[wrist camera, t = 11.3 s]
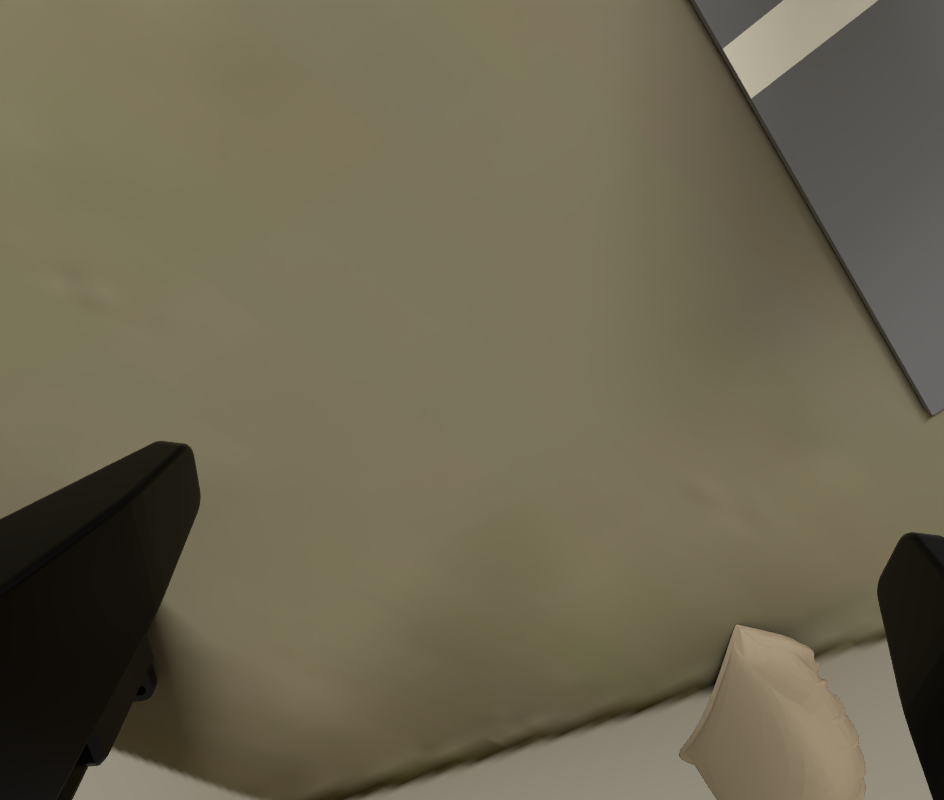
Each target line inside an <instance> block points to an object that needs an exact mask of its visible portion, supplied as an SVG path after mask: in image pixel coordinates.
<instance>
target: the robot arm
mask: <svg viewBox="0 0 944 800" xmlns="http://www.w3.org/2000/svg"><path fill="white" fill-rule="evenodd" d="M199 506H200V487H199V482H198V476H197V470H196V464H195V459H194V454H193V451H192V449H191V447H190V446H188V445H187V444H183V443H175V442H167V441H157V442H154V443H152V444H150V445H148V446H146V447H144V448H142V449H140V450H138V451H136V452H134V453H132V454H130V455H128V456H126V457H124V458H122V459H120V460H118V461H116V462H114V463H112V464H110V465H108V466H106V467H104V468H102V469H100V470H98V471H96V472H94V473H92V474H90V475H88V476H86V477H84V478H82V479H80V480H78V481H76V482H74V483H72V484H70V485H68V486H66V487H64V488H62V489H60V490H58V491H56V492H54V493H52V494H50V495H48V496H46V497H44V498H42V499H40V500H38V501H36V502H34V503H32V504H30V505H28V506H26V507H24V508H22V509H20V510H18V511H16V512H14V513H12V514H10V515H8V516H6V517H4V518H2V519H0V800H72V799H73V797H74V795H75V793H76V791H77V789H78V787H79V784H80V782H81V780H82V778H83V776H84V774H85V772H86V770H87V768H88V766H98V765H100V764H101V763H102V762H103V761H104V760H105V759H106V757H107V756H108V754H109V752H110V750H111V748H112V746H113V743H114V741H115V739H116V737H117V735H118V733H119V731H120V728H121V726H122V724H123V722H124V720H125V718H126V716H127V713H128V711H129V709H130V707H131V705H132V703H133V701H143V700H147V699H148V698H150V697H151V696H152V694H153V692H154V690H155V688H156V685H157V678H156V675H155V672H154V669H153V666H152V663H151V662H152V660H153V654H152V651H151V648H150V645H149V642H148V639H147V636H146V633H147V631H148V629H149V627H150V625H151V623H152V621H153V619H154V617H155V615H156V613H157V611H158V609H159V607H160V604H161V602H162V600H163V597H164V595H165V593H166V590H167V588H168V585H169V583H170V580H171V578H172V575H173V573H174V570H175V568H176V565H177V563H178V560H179V558H180V555H181V553H182V550H183V548H184V545H185V543H186V540H187V538H188V535H189V533H190V530H191V528H192V525H193V523H194V520H195V518H196V515H197V513H198V510H199ZM877 596H878V602H879V606H880V611H881V615H882V620H883V624H884V629H885V633H886V638H887V642H888V647H889V651H890V656H891V660H892V664H893V669H894V674H895V678H896V683H897V687H898V692H899V696H900V700H901V704H902V707H903V711H904V715H905V718H906V721H907V724H908V727H909V731H910V734H911V736H912V739H913V742H914V745H915V748H916V751H917V754H918V757H919V760H920V763H921V766H922V768H923V771H924V774H925V777H926V780H927V783H928V786H929V789H930V792H931V795H932V797H933V800H944V537H942V536H938V535H931V534H923V533H915V532H911V533H907V534H905V535H903V536H902V537H901V538H900V540H899V541H898V543H897V545H896V547H895V549H894V551H893V553H892V555H891V557H890V559H889V561H888V563H887V564H886V566H885V568H884V570H883V572H882V574H881V576H880V579H879V582H878V588H877ZM141 685H142V686H141Z"/></svg>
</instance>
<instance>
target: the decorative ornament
mask: <svg viewBox="0 0 944 800" xmlns="http://www.w3.org/2000/svg"><path fill="white" fill-rule="evenodd" d="M819 668H820V664H819V663H818V662H817V661H815V660H814V652H813V651H812V650H811V649H810V648H809V647H808V646H806V645H803V644H801V643H799V642H797V641H795V640H794V639H792V638H789V637H786V636H783V635H781V634H776V633H772V632H768V631H763V630H759V629H755V628H751V627H746V626H742V625H737V624H736V626H735V628H734V631H733V634H732V636H731V639H730V642H729V646H728V649H727V652H726V655H725V658H724V661H723V664H722V667H721V670H720V673H719V675H718V678H717V681H716V684H715V686H714V689H713V692H712V695H711V697H710V700H709V702H708V705H707V707H706V709H705V712H704V714H703V716H702V718H701V720H700V722H699V724H698V725H697V727H696V729H695V730H694V732H693V734H692V735H691V736H690V738H689V739H688V741H687V742H686V743H685V744H684V746H683V747H682V748H681V750H680V753H679V756H680V758H681V759H682V760H684V761H686V762H688V763H691V764H693V765H695V766H696V768H697V769H698V771H699V772H700V774H701V776H702V777H703V779H704V781H705V782H706V784H707V785H708V787H709V789H710V790H711V791H712V793H713V794H714V796H715V797H716V799H717V800H862V799H863V798H864V796H865V789H866V785H865V781H864V775H865V761H864V757H863V754H862V752H861V749H860V747H859V745H858V744H859V736H858V734H857V732H856V729H855V727H854V725H853V724H852V722H851V720H850V719H849V718H848V716H847V715H846V713H845V708H844V705H843V703H842V702H841V701H840V699H839V698H838V697H837V696H836V695H835V694H832V693H831V691H830V690H829V689H828V687H827V686H826V683H827V681H826V680H824V679H821V678H820V677H819V676H818V675H817V673H818V670H819Z"/></svg>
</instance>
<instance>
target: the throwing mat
mask: <svg viewBox="0 0 944 800" xmlns="http://www.w3.org/2000/svg"><path fill="white" fill-rule="evenodd" d="M690 1H691V3H692V5H693V6H694V8H695V10H696V12H697V13H698V15H699V17H700V19H701V20H702V22H703V24H704V26H705V27H706V29H707V31H708V32H709V34H710V36H711V38H712V39H713V41H714V43H715V45H716V46H717V48H718V50H719V52H720V53H721V55H722V57H723V59H724V60H725V62H726V64H727V65H728V67H729V69H730V71H731V72H732V74H733V76H734V78H735V79H736V81H737V83H738V85H739V86H740V88H741V90H742V92H743V93H744V95H745V97H746V98H747V100H748V102H749V104H750V105H751V107H752V109H753V111H754V112H755V114H756V116H757V118H758V119H759V121H760V123H761V125H762V126H763V128H764V130H765V132H766V133H767V135H768V137H769V138H770V140H771V142H772V144H773V145H774V147H775V149H776V151H777V152H778V154H779V156H780V158H781V159H782V161H783V163H784V165H785V166H786V168H787V170H788V171H789V173H790V175H791V177H792V178H793V180H794V182H795V184H796V185H797V187H798V189H799V191H800V192H801V194H802V196H803V198H804V199H805V201H806V203H807V204H808V206H809V208H810V210H811V211H812V213H813V215H814V217H815V218H816V220H817V222H818V224H819V225H820V227H821V229H822V231H823V232H824V234H825V236H826V238H827V239H828V241H829V243H830V244H831V246H832V248H833V250H834V251H835V253H836V255H837V257H838V258H839V260H840V262H841V264H842V265H843V267H844V269H845V271H846V272H847V274H848V276H849V277H850V279H851V281H852V283H853V284H854V286H855V288H856V290H857V291H858V293H859V295H860V297H861V298H862V300H863V302H864V304H865V305H866V307H867V309H868V310H869V312H870V314H871V316H872V317H873V319H874V321H875V323H876V324H877V326H878V328H879V330H880V331H881V333H882V335H883V337H884V338H885V340H886V342H887V343H888V345H889V347H890V349H891V350H892V352H893V354H894V356H895V357H896V359H897V361H898V363H899V364H900V366H901V368H902V370H903V371H904V373H905V375H906V377H907V378H908V380H909V382H910V383H911V385H912V387H913V389H914V390H915V392H916V394H917V396H918V397H919V399H920V401H921V403H922V404H923V406H924V408H925V410H926V411H927V412H928V413H930V414H931V415H932V416H933V415H935V414H936V413H938V412H939V411H941V410H943V409H944V0H690Z"/></svg>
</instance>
